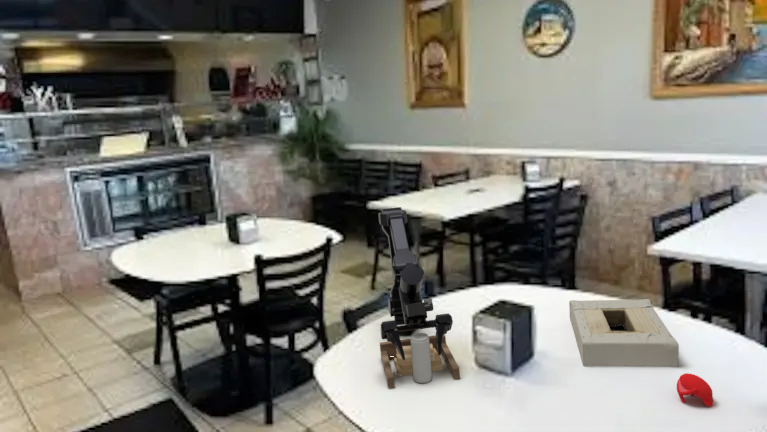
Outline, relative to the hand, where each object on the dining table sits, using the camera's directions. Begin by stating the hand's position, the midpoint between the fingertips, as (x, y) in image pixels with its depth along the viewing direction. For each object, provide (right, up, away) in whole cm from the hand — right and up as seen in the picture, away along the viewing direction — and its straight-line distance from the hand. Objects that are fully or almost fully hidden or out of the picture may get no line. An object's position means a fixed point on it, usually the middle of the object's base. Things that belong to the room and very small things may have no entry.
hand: (421, 357), depth 151 cm
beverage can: (+1, -7, +3) cm, 7 cm away
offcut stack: (0, -5, +10) cm, 11 cm away
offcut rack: (0, -5, +9) cm, 10 cm away
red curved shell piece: (+60, -6, -18) cm, 63 cm away
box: (+56, 0, +14) cm, 58 cm away
